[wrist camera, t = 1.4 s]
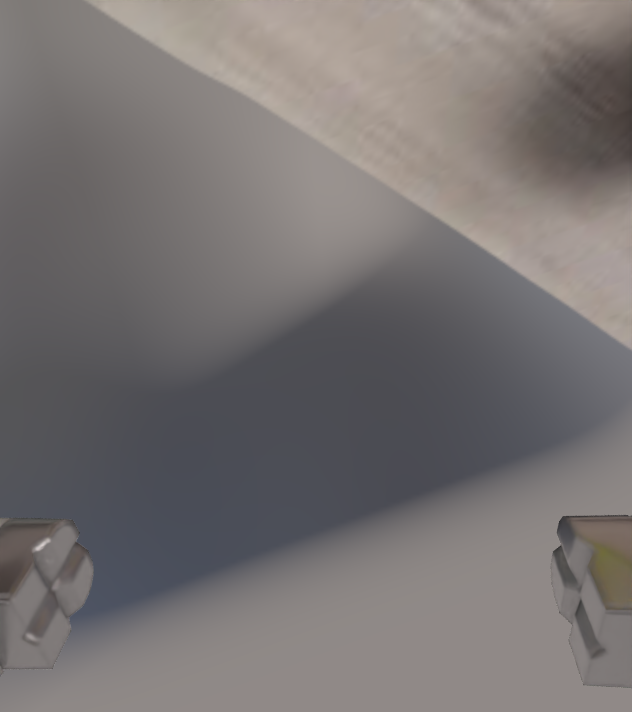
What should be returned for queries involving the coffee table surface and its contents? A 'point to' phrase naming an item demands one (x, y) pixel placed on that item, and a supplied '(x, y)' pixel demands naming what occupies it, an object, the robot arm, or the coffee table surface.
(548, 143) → the coffee table surface
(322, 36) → the coffee table surface
